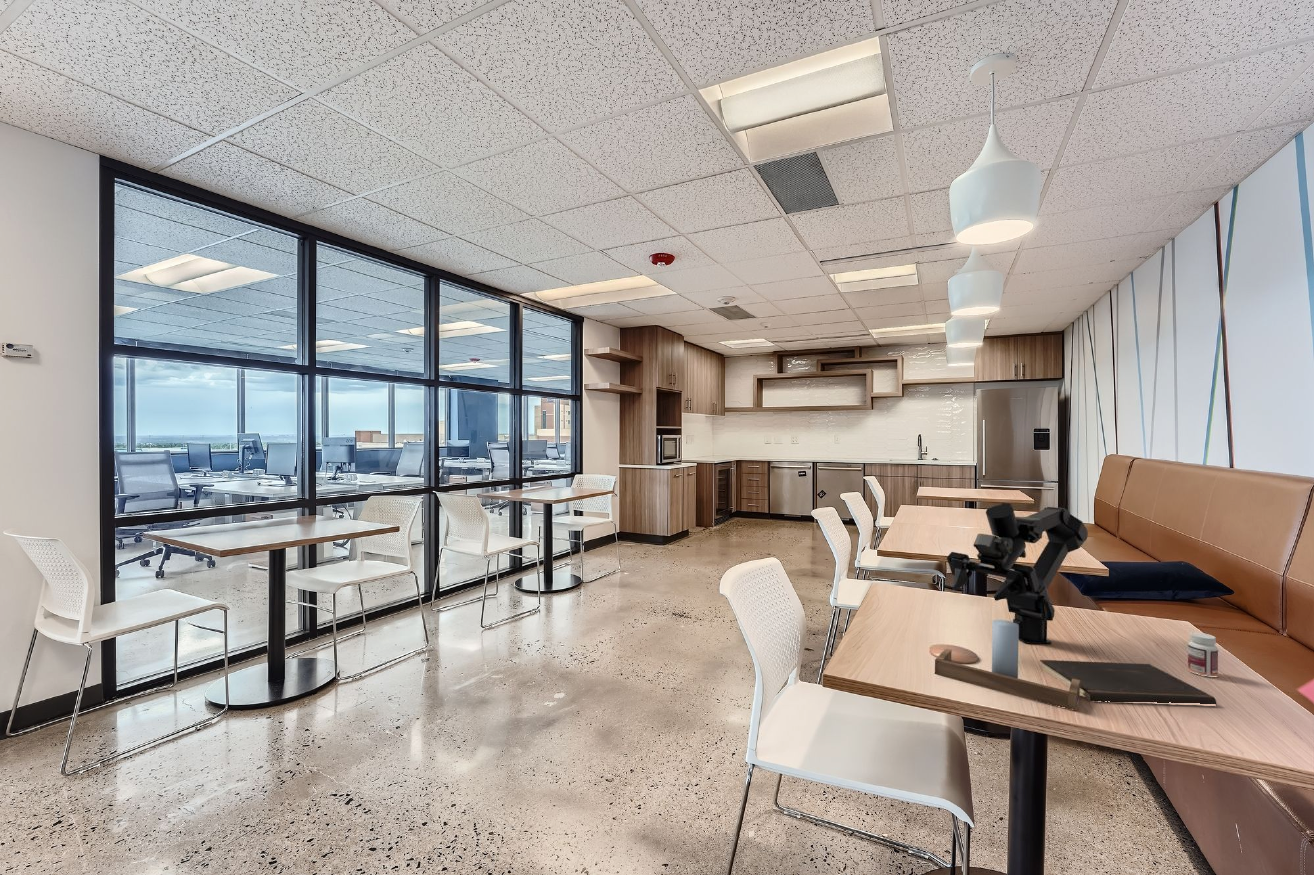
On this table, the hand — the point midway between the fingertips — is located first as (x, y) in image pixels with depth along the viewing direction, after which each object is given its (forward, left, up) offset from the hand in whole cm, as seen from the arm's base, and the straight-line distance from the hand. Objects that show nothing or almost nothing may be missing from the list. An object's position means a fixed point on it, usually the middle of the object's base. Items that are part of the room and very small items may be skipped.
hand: (973, 593), depth 127 cm
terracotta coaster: (+2, -4, -16) cm, 16 cm away
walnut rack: (-1, +11, -15) cm, 19 cm away
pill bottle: (-48, +4, -16) cm, 50 cm away
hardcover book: (-25, +11, -16) cm, 31 cm away
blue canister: (-1, +11, -16) cm, 19 cm away
